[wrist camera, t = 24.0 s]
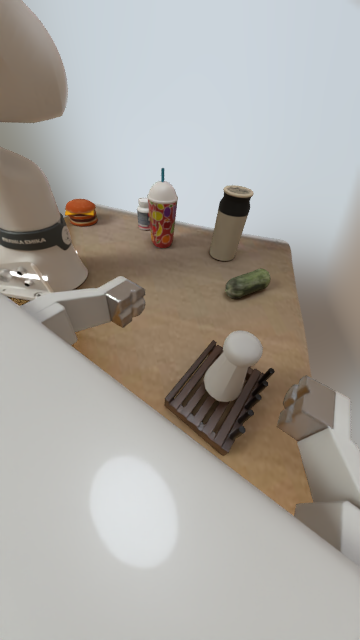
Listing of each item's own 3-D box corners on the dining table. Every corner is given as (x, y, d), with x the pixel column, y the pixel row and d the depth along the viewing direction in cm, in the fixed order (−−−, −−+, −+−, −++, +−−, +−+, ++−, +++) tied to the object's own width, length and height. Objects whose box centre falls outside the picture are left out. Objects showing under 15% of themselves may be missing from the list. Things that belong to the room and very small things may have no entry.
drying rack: (164, 405, 32) (165, 387, 27) (209, 349, 40) (218, 326, 34) (222, 456, 28) (238, 447, 23) (260, 382, 36) (279, 363, 30)
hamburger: (68, 227, 67) (61, 206, 62) (72, 215, 73) (65, 195, 68) (98, 226, 69) (93, 205, 64) (99, 215, 75) (94, 195, 70)
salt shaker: (242, 404, 30) (281, 364, 20) (205, 408, 30) (228, 368, 20) (231, 369, 34) (260, 321, 24) (198, 372, 33) (215, 323, 23)
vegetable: (256, 278, 56) (263, 263, 53) (269, 289, 54) (277, 274, 50) (217, 292, 51) (221, 276, 47) (230, 305, 49) (235, 289, 45)
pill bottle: (150, 231, 69) (149, 203, 63) (136, 228, 70) (133, 201, 63) (155, 225, 73) (154, 198, 66) (141, 222, 73) (139, 195, 67)
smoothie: (155, 235, 68) (153, 162, 53) (178, 240, 67) (183, 167, 52) (145, 246, 63) (140, 169, 48) (170, 252, 62) (173, 175, 46)
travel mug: (233, 263, 60) (255, 198, 47) (208, 259, 61) (221, 192, 47) (234, 250, 65) (254, 187, 52) (210, 246, 66) (223, 183, 52)
